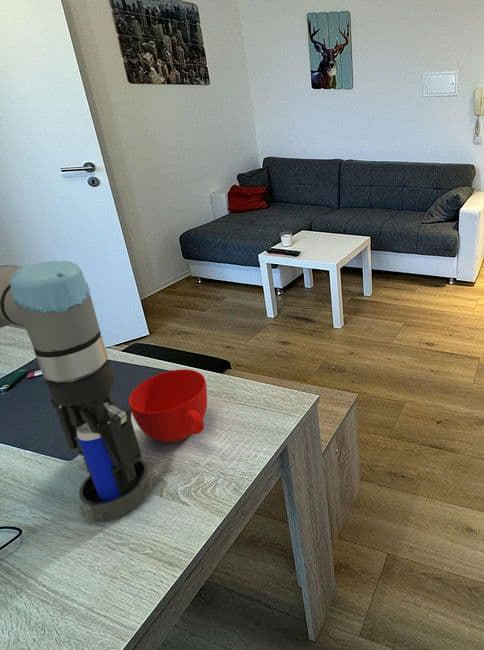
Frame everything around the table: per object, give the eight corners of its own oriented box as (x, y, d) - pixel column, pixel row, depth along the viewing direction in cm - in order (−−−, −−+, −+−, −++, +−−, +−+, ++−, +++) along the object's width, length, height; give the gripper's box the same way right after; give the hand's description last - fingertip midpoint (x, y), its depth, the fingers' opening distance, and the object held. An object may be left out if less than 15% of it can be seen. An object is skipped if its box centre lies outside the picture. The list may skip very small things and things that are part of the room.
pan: (71, 512, 69) (64, 494, 67) (124, 467, 77) (119, 450, 75) (115, 531, 66) (108, 513, 64) (165, 483, 74) (160, 465, 72)
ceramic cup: (172, 478, 75) (160, 434, 71) (128, 435, 84) (115, 393, 80) (238, 434, 84) (231, 393, 81) (192, 400, 94) (183, 361, 90)
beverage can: (126, 476, 74) (105, 407, 69) (144, 490, 72) (122, 419, 66) (94, 499, 70) (68, 426, 65) (111, 514, 68) (85, 440, 62)
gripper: (148, 366, 62) (178, 484, 71) (60, 342, 68) (98, 455, 76) (99, 398, 56) (139, 524, 64) (5, 369, 61) (54, 489, 70)
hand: (116, 486), depth 70 cm, fingers closed on beverage can, 5 cm apart
